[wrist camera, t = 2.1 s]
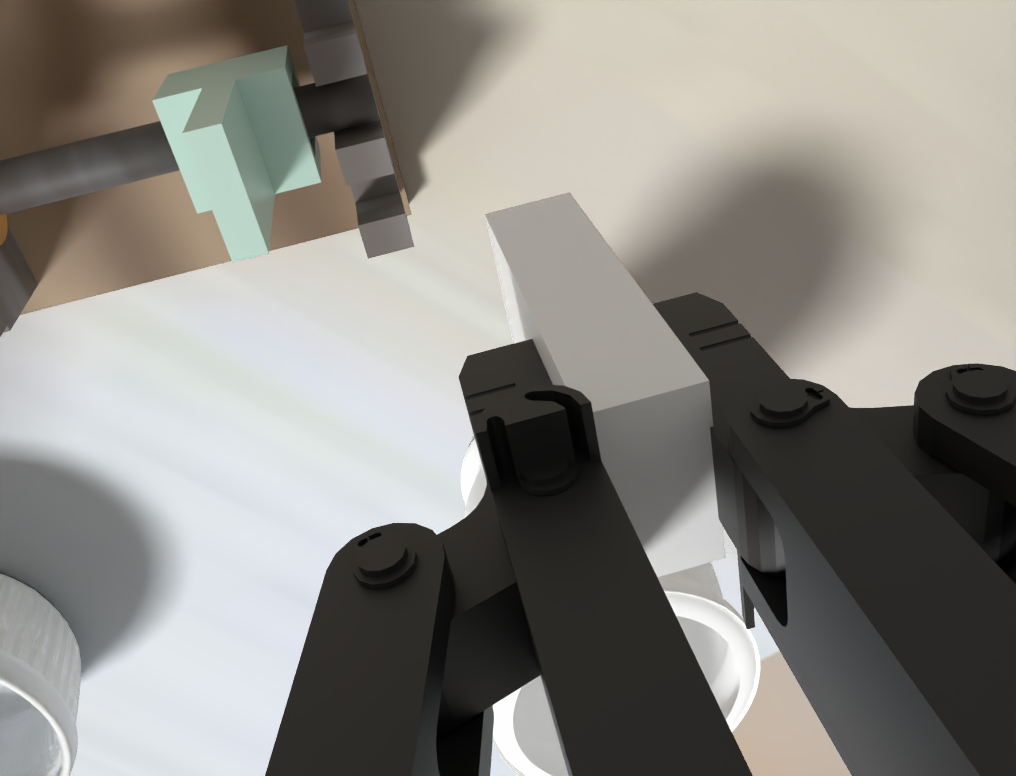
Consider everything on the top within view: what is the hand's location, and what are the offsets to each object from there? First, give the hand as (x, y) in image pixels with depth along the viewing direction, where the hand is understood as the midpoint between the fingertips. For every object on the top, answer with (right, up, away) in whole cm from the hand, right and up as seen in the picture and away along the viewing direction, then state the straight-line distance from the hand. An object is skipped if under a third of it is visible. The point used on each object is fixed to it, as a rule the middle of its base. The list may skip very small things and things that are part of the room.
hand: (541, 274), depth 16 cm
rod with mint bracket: (-15, +8, +18) cm, 25 cm away
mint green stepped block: (-9, +7, +15) cm, 19 cm away
